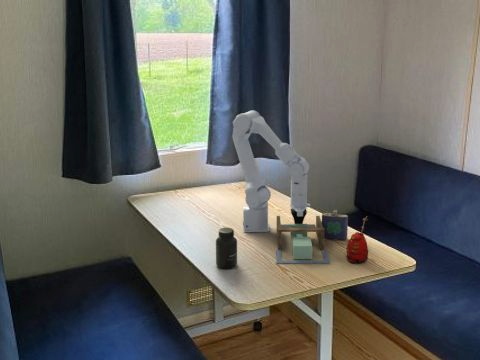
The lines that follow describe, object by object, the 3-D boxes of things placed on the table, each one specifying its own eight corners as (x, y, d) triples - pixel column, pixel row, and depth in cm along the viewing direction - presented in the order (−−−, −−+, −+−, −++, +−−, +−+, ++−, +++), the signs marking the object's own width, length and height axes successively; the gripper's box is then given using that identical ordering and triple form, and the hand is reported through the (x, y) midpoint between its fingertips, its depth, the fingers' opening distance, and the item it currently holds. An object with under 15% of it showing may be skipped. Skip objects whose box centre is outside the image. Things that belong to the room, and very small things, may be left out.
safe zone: (276, 263, 171) (276, 262, 171) (275, 250, 181) (275, 249, 181) (330, 263, 171) (330, 262, 171) (326, 250, 181) (326, 249, 181)
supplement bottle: (235, 270, 167) (234, 234, 164) (213, 269, 168) (212, 233, 165) (239, 261, 174) (238, 226, 170) (219, 260, 175) (217, 225, 172)
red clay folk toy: (344, 255, 177) (345, 212, 173) (365, 255, 177) (367, 212, 173) (347, 264, 170) (349, 220, 166) (370, 264, 169) (372, 220, 165)
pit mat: (278, 230, 199) (278, 230, 199) (278, 225, 204) (278, 224, 204) (316, 230, 198) (316, 230, 198) (314, 225, 204) (314, 224, 204)
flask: (347, 238, 191) (348, 210, 188) (346, 241, 188) (347, 212, 185) (321, 236, 193) (322, 208, 190) (320, 239, 191) (321, 210, 188)
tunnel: (277, 249, 182) (278, 229, 180) (276, 232, 197) (276, 213, 195) (324, 249, 181) (324, 229, 179) (319, 232, 197) (319, 213, 195)
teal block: (293, 258, 174) (293, 245, 173) (290, 235, 193) (290, 223, 192) (311, 258, 174) (312, 245, 172) (306, 235, 193) (307, 223, 191)
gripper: (312, 199, 183) (311, 236, 186) (308, 186, 197) (307, 221, 200) (291, 199, 183) (291, 236, 187) (289, 186, 197) (288, 221, 201)
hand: (298, 228), depth 194 cm, fingers closed
